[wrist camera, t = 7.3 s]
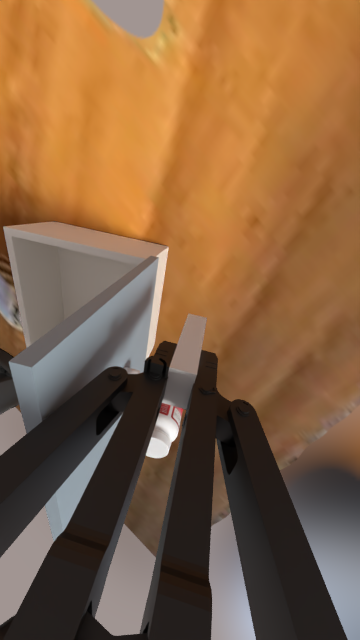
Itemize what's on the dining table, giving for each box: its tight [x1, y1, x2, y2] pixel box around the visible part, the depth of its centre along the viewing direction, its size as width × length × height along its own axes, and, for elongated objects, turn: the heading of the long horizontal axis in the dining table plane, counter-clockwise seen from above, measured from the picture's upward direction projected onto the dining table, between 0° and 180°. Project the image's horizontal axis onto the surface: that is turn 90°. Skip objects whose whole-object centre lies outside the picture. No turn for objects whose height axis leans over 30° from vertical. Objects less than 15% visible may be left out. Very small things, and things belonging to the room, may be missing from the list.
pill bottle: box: [146, 403, 183, 458], centre depth 36 cm, size 6×6×11 cm
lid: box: [9, 256, 159, 541], centre depth 18 cm, size 16×17×2 cm
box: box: [3, 221, 169, 359], centre depth 30 cm, size 16×16×8 cm
